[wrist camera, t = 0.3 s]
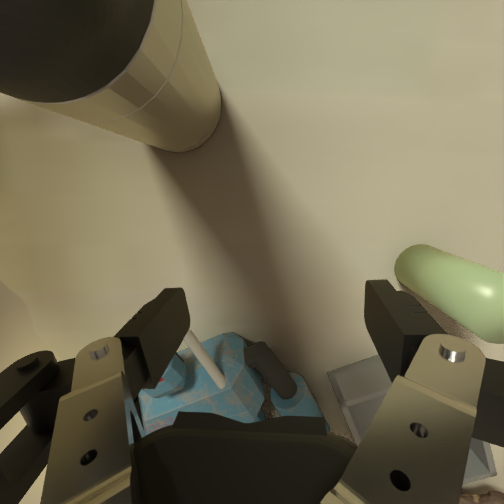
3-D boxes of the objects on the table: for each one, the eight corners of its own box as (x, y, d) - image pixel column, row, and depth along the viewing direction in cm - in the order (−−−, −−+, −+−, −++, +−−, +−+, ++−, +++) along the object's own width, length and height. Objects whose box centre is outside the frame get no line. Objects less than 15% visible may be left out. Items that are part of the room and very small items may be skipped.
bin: (327, 372, 34) (339, 404, 29) (437, 334, 32) (470, 362, 27) (365, 464, 38) (381, 506, 33) (464, 435, 36) (497, 475, 31)
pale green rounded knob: (389, 254, 29) (465, 295, 19) (434, 237, 29) (539, 269, 18) (400, 293, 31) (478, 352, 20) (444, 277, 30) (548, 329, 19)
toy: (194, 549, 34) (21, 408, 23) (203, 468, 42) (80, 337, 31) (359, 499, 31) (254, 311, 20) (333, 423, 39) (249, 262, 28)
